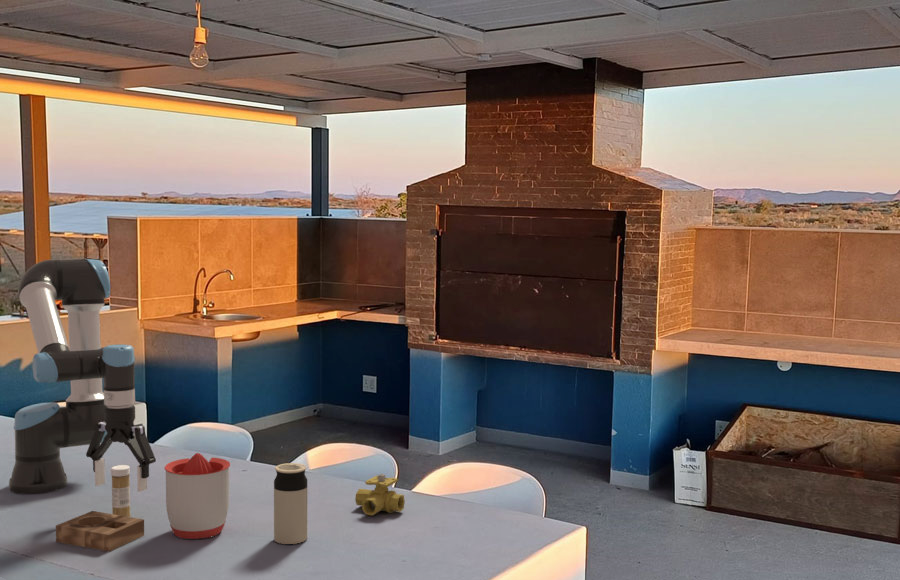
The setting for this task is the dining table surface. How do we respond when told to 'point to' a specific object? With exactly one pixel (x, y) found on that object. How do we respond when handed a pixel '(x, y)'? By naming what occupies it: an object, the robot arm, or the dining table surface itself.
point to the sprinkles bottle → (120, 490)
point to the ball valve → (379, 496)
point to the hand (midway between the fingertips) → (121, 487)
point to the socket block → (100, 530)
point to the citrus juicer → (197, 496)
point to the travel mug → (290, 504)
